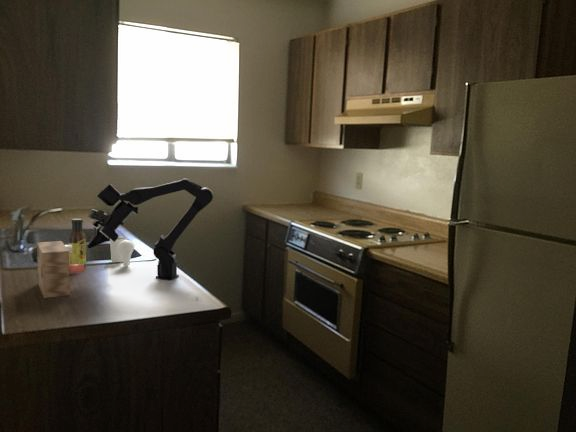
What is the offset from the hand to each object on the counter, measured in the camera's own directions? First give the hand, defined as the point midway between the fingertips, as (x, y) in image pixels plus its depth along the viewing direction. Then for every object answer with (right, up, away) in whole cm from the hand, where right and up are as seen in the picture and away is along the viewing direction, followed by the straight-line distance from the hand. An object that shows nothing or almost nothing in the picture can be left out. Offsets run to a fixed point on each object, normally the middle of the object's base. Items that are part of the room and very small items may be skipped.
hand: (88, 247), depth 192 cm
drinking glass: (0, -8, +34) cm, 35 cm away
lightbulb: (+6, -9, +25) cm, 27 cm away
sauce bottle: (-11, -10, +19) cm, 24 cm away
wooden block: (-8, -14, -9) cm, 19 cm away
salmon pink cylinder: (0, -8, -13) cm, 15 cm away
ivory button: (-8, -2, -4) cm, 9 cm away
